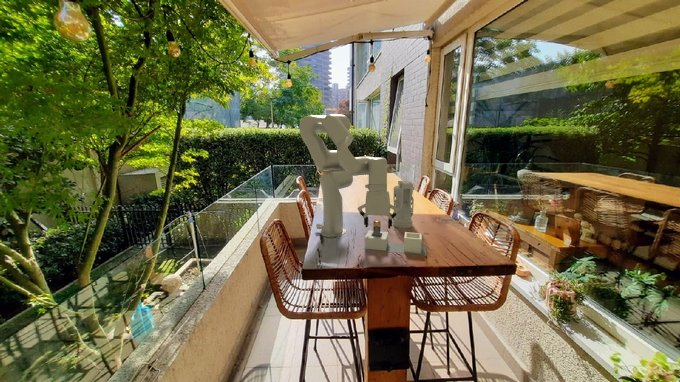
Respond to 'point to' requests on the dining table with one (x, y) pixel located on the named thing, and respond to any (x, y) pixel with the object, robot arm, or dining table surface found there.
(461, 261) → the dining table surface
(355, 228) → the dining table surface
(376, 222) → the lock pin
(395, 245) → the dock board
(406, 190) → the lantern
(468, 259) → the dining table surface
